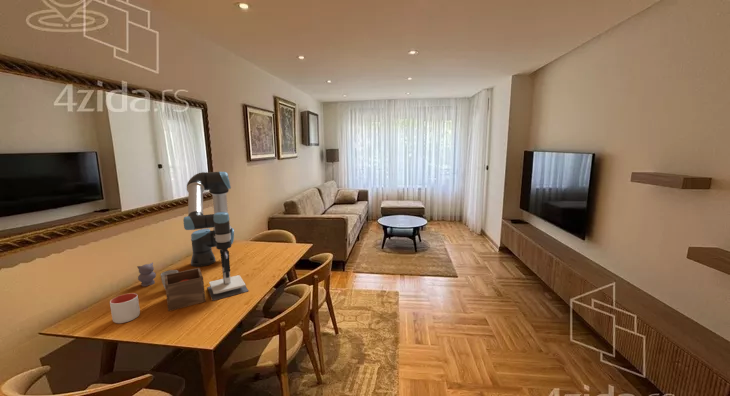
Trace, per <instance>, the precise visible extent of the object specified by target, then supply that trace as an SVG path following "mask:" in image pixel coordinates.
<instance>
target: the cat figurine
mask: <svg viewBox="0 0 730 396" xmlns="http://www.w3.org/2000/svg"><path fill="white" fill-rule="evenodd" d="M153 264H154V262H151V263H146V264H143V265H138V266H136V267H137V269H138V273H139V275H137V277H138V278H137V280H138V281H139V282H140V283H141V284H140V286H141V287H149V286H148V285H150V286H152V285H154V284H156V282H155V278H156V277H157V274H156V272H155V267H154V265H153Z"/></svg>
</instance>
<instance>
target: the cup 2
mask: <svg viewBox="0 0 730 396" xmlns="http://www.w3.org/2000/svg"><path fill="white" fill-rule="evenodd" d="M177 272H179V270H177V269H169V270H165V271H162V272H161V273H160V278H161V279H160V280H161V283H162V285H163V288H164V290H165V291H166V288H165V275H167V274H172V273H177Z"/></svg>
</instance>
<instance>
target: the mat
mask: <svg viewBox="0 0 730 396" xmlns="http://www.w3.org/2000/svg"><path fill="white" fill-rule="evenodd" d="M206 288H207V290H208V293H209V295H210V297H211V298H210V299H211V301H212V302H213V301H217V300H221V299H225V298H230V297H232V296H236V295H240V294H244V293H247V292H250V290H249V289H248V288H247V285H246V286H243V287H242V288H238V289H234V290H230V291H226V292H222V293H218V294H213V291H212V289H211V286H210V285H209V286H207V287H206Z"/></svg>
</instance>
